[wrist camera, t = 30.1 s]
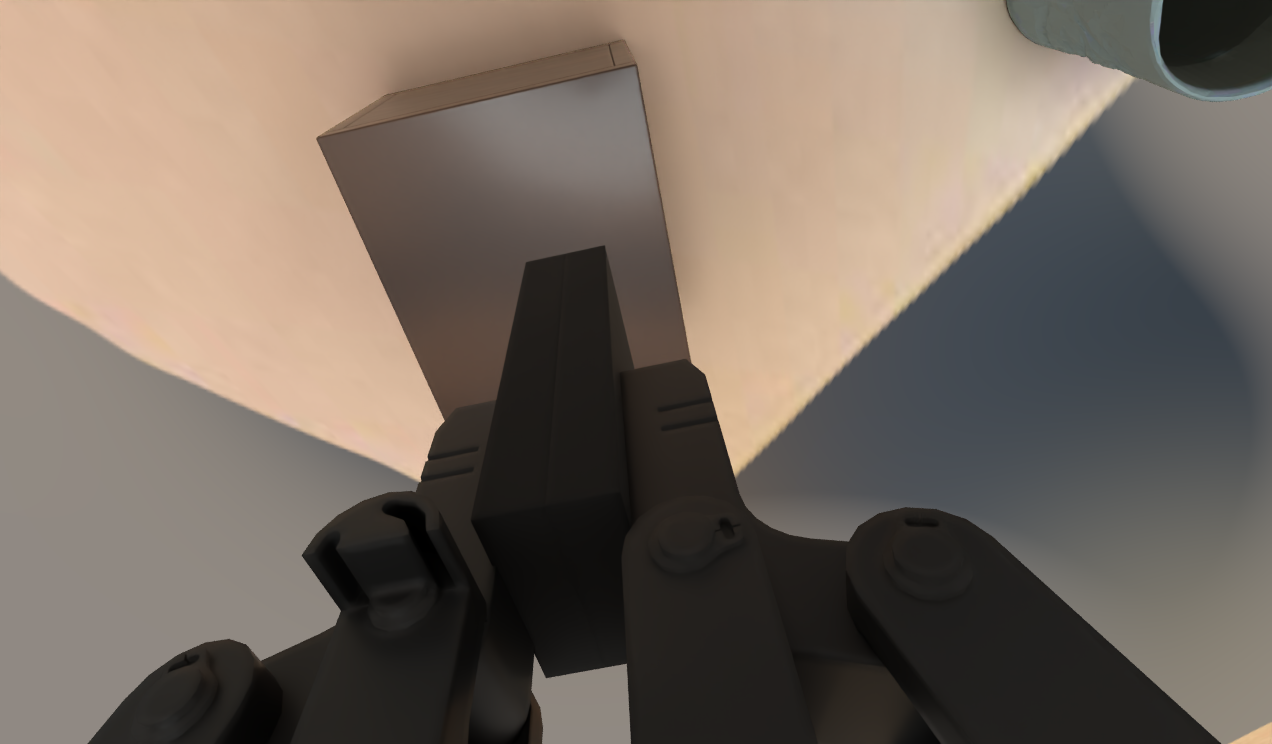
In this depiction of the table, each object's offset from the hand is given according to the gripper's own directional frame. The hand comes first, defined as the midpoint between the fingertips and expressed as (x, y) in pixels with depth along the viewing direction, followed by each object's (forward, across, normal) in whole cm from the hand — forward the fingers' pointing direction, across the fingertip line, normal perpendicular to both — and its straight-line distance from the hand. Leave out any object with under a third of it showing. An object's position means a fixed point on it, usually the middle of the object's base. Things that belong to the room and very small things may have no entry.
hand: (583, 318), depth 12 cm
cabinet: (+28, -4, -6) cm, 29 cm away
